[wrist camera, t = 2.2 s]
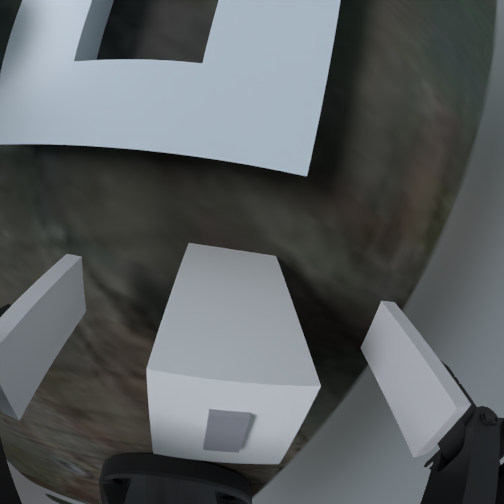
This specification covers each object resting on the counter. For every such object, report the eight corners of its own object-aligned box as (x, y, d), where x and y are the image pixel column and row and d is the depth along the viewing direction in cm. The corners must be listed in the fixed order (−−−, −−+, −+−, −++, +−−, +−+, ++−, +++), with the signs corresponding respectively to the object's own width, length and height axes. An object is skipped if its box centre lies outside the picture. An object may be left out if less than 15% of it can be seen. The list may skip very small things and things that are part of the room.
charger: (259, 327, 15) (279, 468, 8) (181, 316, 15) (152, 458, 7) (276, 256, 14) (322, 392, 6) (188, 242, 13) (144, 374, 6)
